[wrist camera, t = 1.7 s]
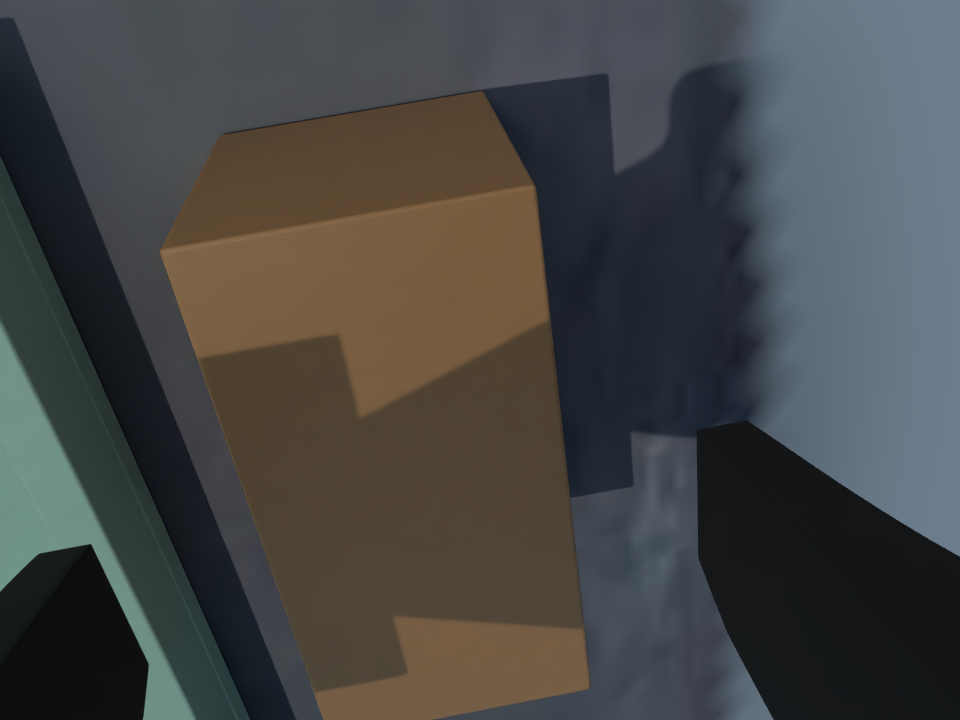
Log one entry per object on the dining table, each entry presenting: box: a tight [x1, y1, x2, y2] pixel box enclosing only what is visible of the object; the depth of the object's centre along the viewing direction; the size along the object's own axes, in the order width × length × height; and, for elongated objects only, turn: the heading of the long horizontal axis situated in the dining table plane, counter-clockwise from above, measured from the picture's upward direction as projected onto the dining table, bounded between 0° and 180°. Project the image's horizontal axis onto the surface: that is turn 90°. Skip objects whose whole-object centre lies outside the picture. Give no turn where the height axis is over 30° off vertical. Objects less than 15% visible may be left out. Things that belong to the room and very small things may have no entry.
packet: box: [160, 91, 591, 720], centre depth 13 cm, size 4×8×4 cm, turn 8°
